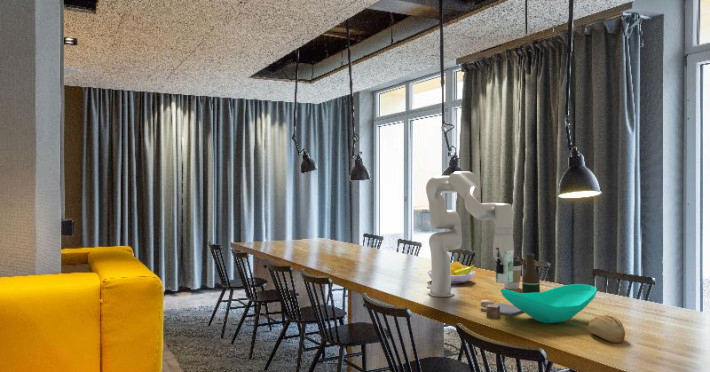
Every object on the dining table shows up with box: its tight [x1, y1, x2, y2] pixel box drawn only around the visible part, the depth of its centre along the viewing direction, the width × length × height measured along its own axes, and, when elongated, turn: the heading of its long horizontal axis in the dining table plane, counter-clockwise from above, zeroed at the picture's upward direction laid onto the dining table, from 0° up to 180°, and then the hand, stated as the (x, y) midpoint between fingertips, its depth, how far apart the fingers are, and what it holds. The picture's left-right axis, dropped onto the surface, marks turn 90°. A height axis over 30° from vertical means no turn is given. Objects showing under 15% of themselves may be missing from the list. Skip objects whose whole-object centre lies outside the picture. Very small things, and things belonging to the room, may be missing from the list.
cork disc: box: [480, 299, 495, 307], centre depth 257 cm, size 6×6×2 cm
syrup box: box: [495, 250, 514, 285], centre depth 245 cm, size 6×6×14 cm
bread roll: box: [587, 314, 626, 344], centre depth 200 cm, size 10×15×8 cm, turn 17°
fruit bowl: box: [427, 261, 476, 285], centre depth 316 cm, size 28×27×11 cm
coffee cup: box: [503, 258, 523, 290], centre depth 296 cm, size 11×11×15 cm
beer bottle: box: [521, 252, 541, 293], centre depth 252 cm, size 8×8×24 cm
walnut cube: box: [485, 304, 501, 319], centre depth 235 cm, size 4×4×4 cm
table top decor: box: [500, 283, 598, 324], centre depth 225 cm, size 40×28×13 cm
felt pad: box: [480, 302, 524, 317], centre depth 245 cm, size 15×15×1 cm
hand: (504, 272), depth 245 cm, fingers closed on syrup box, 6 cm apart
